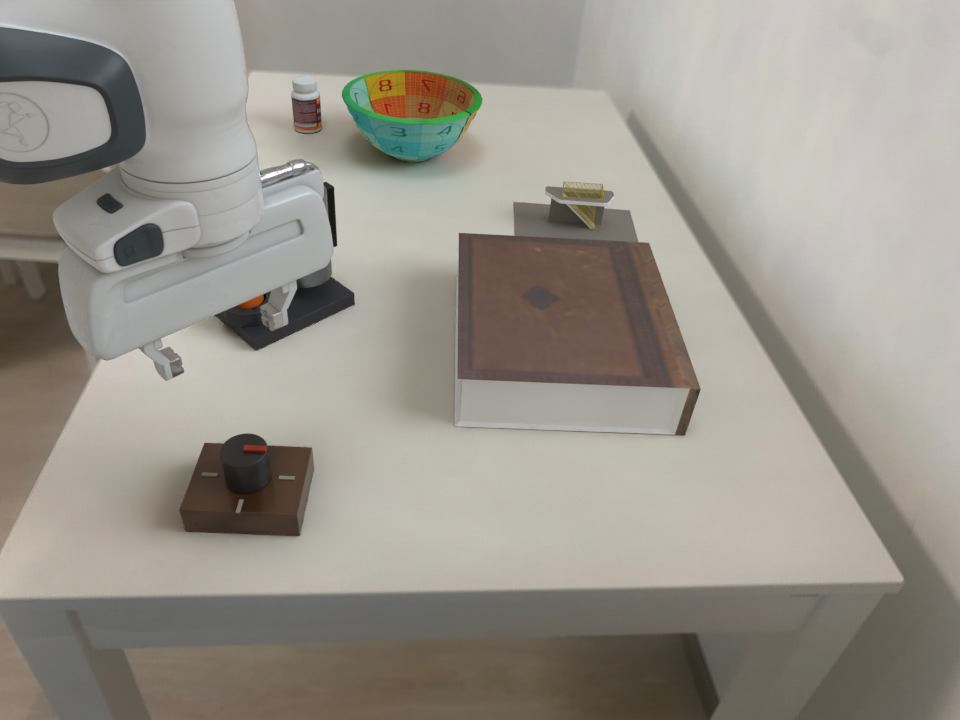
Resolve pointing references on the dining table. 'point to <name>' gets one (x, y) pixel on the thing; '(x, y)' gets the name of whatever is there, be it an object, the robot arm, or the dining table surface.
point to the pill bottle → (306, 105)
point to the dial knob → (245, 463)
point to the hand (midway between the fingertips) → (225, 348)
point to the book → (567, 338)
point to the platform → (575, 215)
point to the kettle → (325, 273)
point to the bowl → (411, 111)
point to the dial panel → (249, 495)
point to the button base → (289, 313)
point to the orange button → (252, 302)
